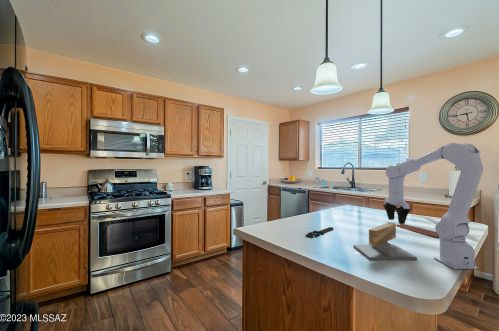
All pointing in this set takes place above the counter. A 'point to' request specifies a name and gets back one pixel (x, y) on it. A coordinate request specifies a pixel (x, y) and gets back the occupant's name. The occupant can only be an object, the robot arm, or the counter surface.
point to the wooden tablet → (419, 230)
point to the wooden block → (382, 234)
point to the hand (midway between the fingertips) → (396, 221)
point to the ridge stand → (384, 252)
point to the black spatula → (318, 232)
